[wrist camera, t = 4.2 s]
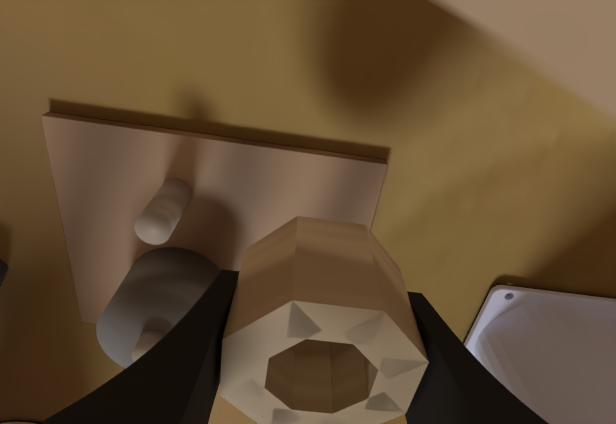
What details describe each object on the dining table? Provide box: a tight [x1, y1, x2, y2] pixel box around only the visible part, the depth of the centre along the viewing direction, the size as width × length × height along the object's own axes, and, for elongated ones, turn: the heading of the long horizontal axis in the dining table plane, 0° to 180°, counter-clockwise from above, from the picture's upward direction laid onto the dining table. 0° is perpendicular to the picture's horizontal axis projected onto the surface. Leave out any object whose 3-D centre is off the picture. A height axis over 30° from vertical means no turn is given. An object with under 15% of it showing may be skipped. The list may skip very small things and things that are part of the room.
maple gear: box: [219, 216, 429, 424], centre depth 13 cm, size 6×6×4 cm
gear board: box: [41, 112, 388, 369], centre depth 20 cm, size 16×13×6 cm
